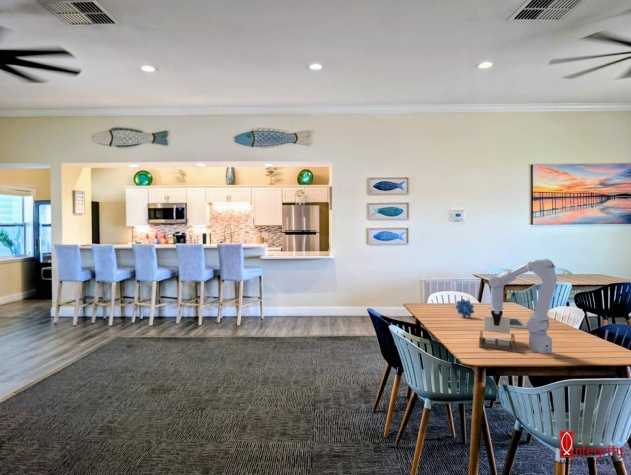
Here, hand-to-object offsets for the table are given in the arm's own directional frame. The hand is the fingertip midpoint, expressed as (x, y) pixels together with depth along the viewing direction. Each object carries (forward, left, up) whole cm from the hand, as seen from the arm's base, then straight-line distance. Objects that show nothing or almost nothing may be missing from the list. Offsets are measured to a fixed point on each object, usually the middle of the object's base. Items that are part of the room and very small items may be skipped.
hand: (496, 325), depth 209 cm
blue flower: (+51, -17, -8) cm, 55 cm away
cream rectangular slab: (0, 0, -4) cm, 4 cm away
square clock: (+29, -32, -9) cm, 44 cm away
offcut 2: (-16, +8, -7) cm, 19 cm away
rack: (-7, +5, -8) cm, 12 cm away
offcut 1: (-12, +13, -7) cm, 19 cm away
